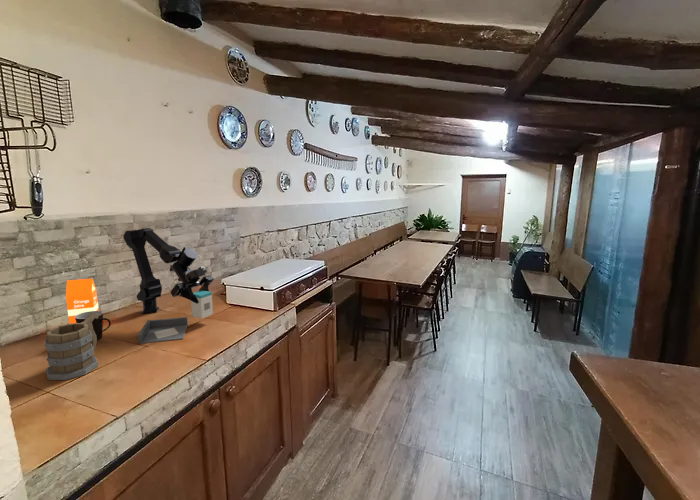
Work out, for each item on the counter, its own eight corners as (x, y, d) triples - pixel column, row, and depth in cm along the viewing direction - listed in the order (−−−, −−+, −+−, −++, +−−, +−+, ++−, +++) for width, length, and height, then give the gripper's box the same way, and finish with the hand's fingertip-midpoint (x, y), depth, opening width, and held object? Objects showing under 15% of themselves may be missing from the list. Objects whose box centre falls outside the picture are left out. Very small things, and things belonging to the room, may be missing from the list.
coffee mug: (73, 341, 132) (70, 316, 130) (98, 333, 140) (95, 309, 138) (89, 348, 127) (86, 322, 125) (114, 339, 134) (112, 314, 133)
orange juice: (75, 323, 149) (69, 278, 145) (100, 320, 153) (95, 276, 149) (69, 330, 142) (63, 282, 138) (96, 327, 146) (90, 280, 142)
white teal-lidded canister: (191, 316, 149) (190, 293, 147) (202, 311, 155) (201, 290, 153) (202, 318, 147) (200, 295, 145) (213, 314, 152) (212, 292, 150)
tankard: (76, 381, 105) (70, 334, 103) (35, 379, 106) (28, 333, 103) (120, 350, 125) (116, 311, 123) (86, 349, 125) (81, 310, 123)
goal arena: (148, 328, 145) (147, 320, 144) (187, 324, 150) (187, 316, 149) (138, 343, 131) (137, 335, 130) (182, 339, 135) (182, 330, 135)
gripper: (173, 265, 140) (195, 295, 137) (209, 257, 157) (229, 284, 154) (161, 282, 144) (182, 311, 142) (197, 272, 161) (216, 298, 159)
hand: (203, 300), depth 149 cm, fingers closed on white teal-lidded canister, 6 cm apart
